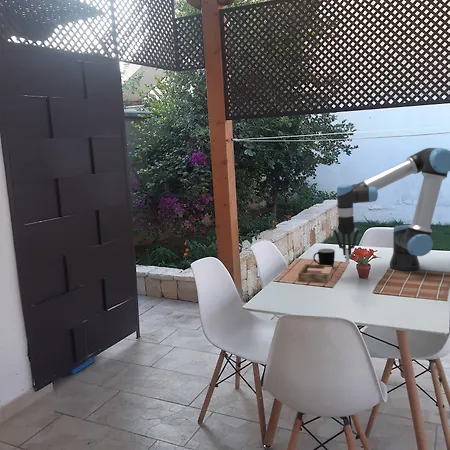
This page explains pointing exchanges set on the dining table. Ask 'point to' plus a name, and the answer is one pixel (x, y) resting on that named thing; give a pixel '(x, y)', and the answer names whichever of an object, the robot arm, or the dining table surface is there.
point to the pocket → (312, 277)
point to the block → (321, 271)
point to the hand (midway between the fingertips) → (347, 261)
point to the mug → (325, 256)
